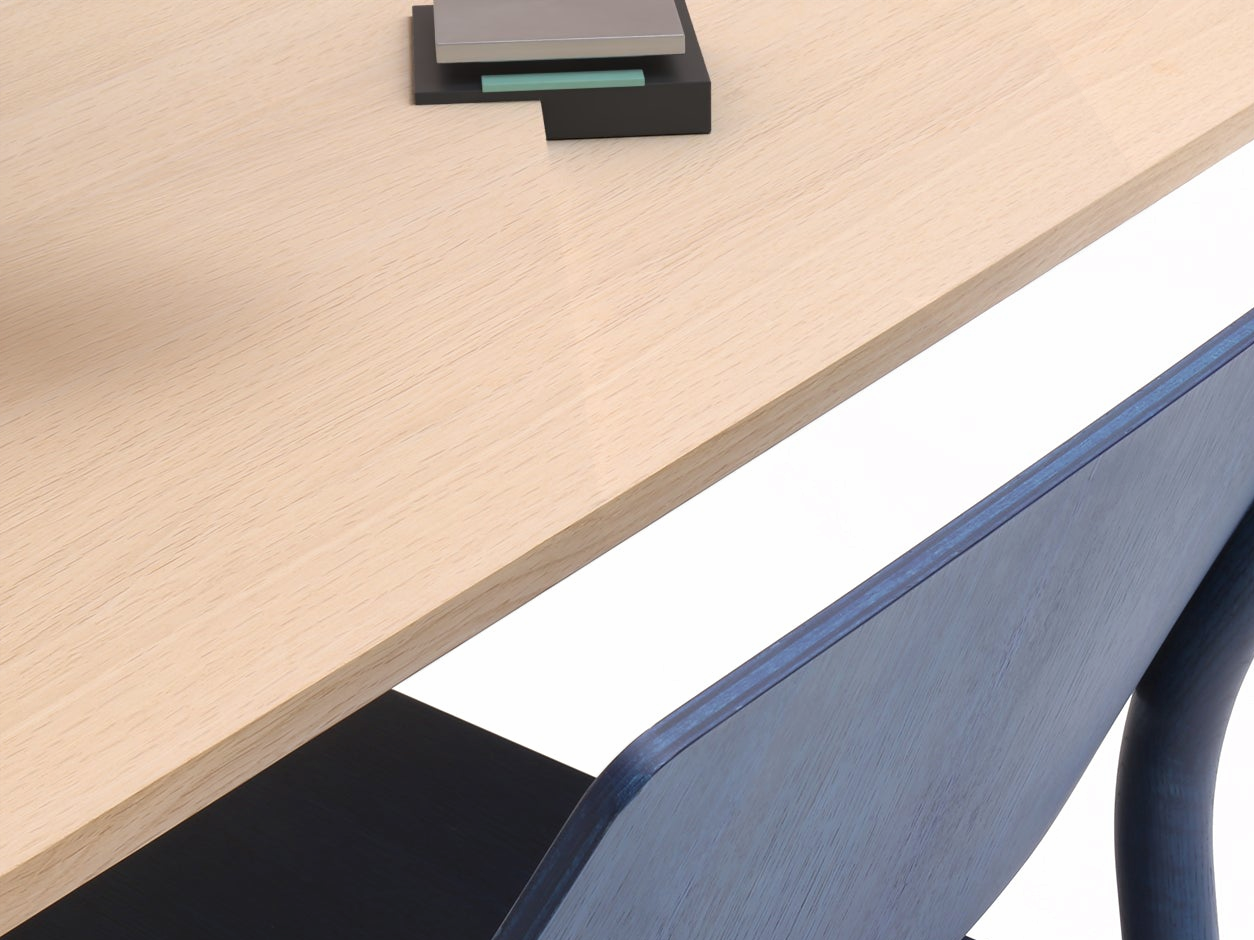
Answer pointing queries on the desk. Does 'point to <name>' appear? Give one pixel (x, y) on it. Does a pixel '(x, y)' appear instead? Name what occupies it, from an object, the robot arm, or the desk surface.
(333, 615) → the desk surface
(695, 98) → the scale
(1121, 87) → the desk surface
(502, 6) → the scale pan
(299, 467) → the desk surface
